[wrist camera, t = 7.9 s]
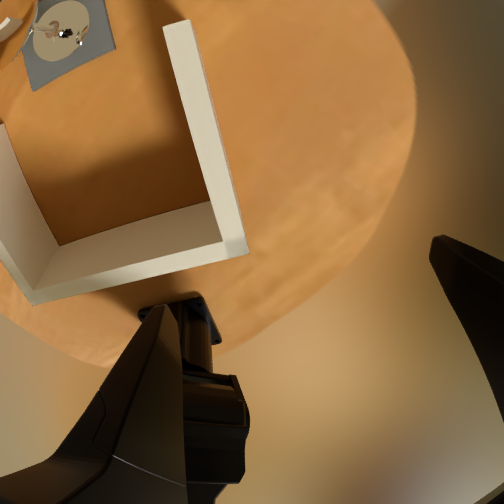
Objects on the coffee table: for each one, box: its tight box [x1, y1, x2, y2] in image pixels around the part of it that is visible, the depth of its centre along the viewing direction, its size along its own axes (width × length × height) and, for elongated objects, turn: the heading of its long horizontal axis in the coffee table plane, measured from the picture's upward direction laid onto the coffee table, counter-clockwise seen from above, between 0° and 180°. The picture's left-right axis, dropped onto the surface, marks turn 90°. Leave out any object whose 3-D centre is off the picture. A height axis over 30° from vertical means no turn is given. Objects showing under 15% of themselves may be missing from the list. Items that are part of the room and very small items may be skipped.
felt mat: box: [22, 0, 116, 92], centre depth 11 cm, size 6×6×1 cm
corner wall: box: [0, 19, 249, 306], centre depth 15 cm, size 13×16×6 cm
